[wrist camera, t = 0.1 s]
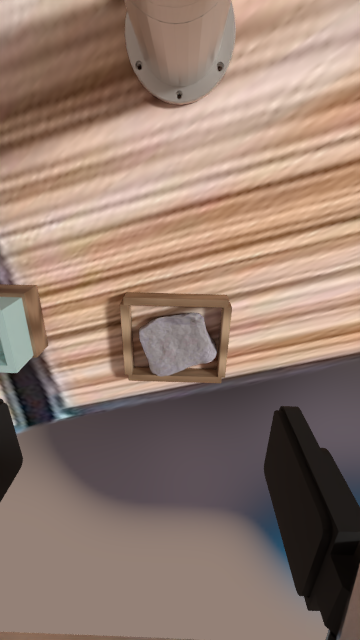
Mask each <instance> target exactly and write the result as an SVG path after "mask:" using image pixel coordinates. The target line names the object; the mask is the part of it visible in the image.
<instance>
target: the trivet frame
mask: <svg viewBox="0 0 360 640" xmlns="http://www.w3.org/2000/svg"><path fill="white" fill-rule="evenodd" d="M131 305H145V306H183V307H222V312H221V324H220V336H219V348H218V360H217V369H193V368H186V369H184V370H182V371H179V372H177V373H174V374H171V375H168V376H157V375H156V374H154V373H152V371H151V370H150V367H134V356H133V338H132V319H131ZM231 312H232V307H231V304H230V302H229V300H228V297H227V295H207V294H168V293H129V292H126V294H125V296H124V297H123V300H122V302H121V304H120V314H121V328H122V342H123V356H124V370H125V375H128V379H129V380H132V381H166V382H200V383H221V377H225V372H226V362H227V352H228V342H229V332H230V322H231Z"/></svg>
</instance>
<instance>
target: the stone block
mask: <svg viewBox="0 0 360 640" xmlns="http://www.w3.org/2000/svg"><path fill="white" fill-rule="evenodd" d="M139 339H140V342H141V344H142V347H143V350H144V352H145V355H146V357H147V358H148V363H149V367H150V370H151V371H152V373H154V374H156V375H157V376H168V375H171V374H174V373H177V372H179V371H182V370H184V369H186V368H188V367H190V366H193V365H198V364H202V363H209V362H211V361H212V360H213V359H214V358H215V357H216V354H217V348H216V344H215V342H214V341H213V340H212V338H211V337H210V335H209V334H208V332H207V330H206V326H205V321H204V318H203V316H202V315H201V314H199V313H187V314H182V315H174V316H165V317H160V318H157V319H153V320H151V321H150V322H149V323H148V324H146V325H145V326H143V327H141V328H140V329H139Z"/></svg>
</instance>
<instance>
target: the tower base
mask: <svg viewBox="0 0 360 640" xmlns="http://www.w3.org/2000/svg"><path fill="white" fill-rule="evenodd" d="M0 297H20V298H22V302H23V307H24V312H25V317H26V322H27V326H28V331H29V336H30V341H31V346H32V351H33V356H32V357H38V356H39V355H40V354H41V353H42V352H43V351H44V349H45V348H46V347H47V346H48V341H47V335H46V330H45V325H44V319H43V314H42V309H41V304H40V298H39V293H38V288H37V285H3V284H0Z"/></svg>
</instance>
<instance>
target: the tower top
mask: <svg viewBox="0 0 360 640" xmlns="http://www.w3.org/2000/svg"><path fill="white" fill-rule="evenodd" d="M32 356H33V351H32V346H31V341H30V336H29V331H28V326H27V322H26V317H25V312H24V307H23V302H22V298H20V297H0V372H6V373H18V371H19V370H20V369H21V368H22V367H23V366H24V365H25V364H26V363H27V362H28V361H29V360H30V359H31V357H32Z"/></svg>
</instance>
